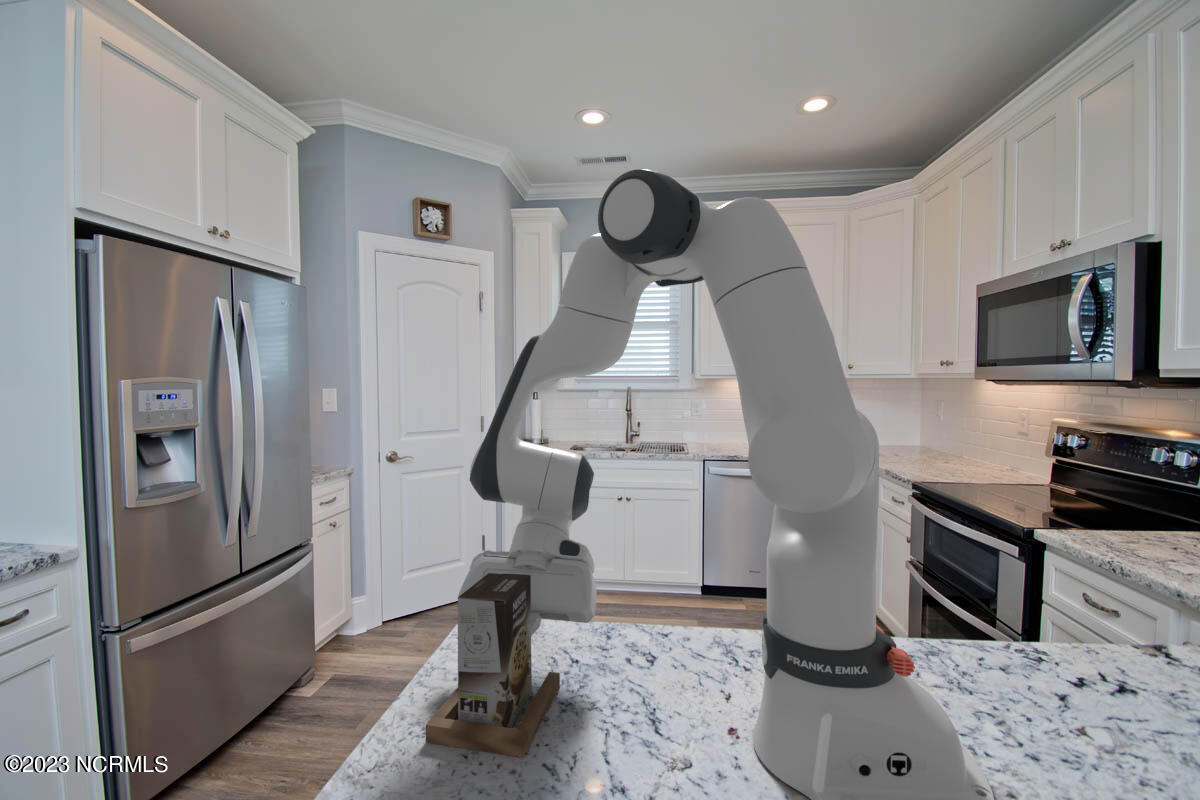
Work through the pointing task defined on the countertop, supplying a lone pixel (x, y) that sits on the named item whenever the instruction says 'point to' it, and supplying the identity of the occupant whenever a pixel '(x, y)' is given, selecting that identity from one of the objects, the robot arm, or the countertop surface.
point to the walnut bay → (490, 737)
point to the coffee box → (494, 649)
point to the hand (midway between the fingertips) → (514, 647)
